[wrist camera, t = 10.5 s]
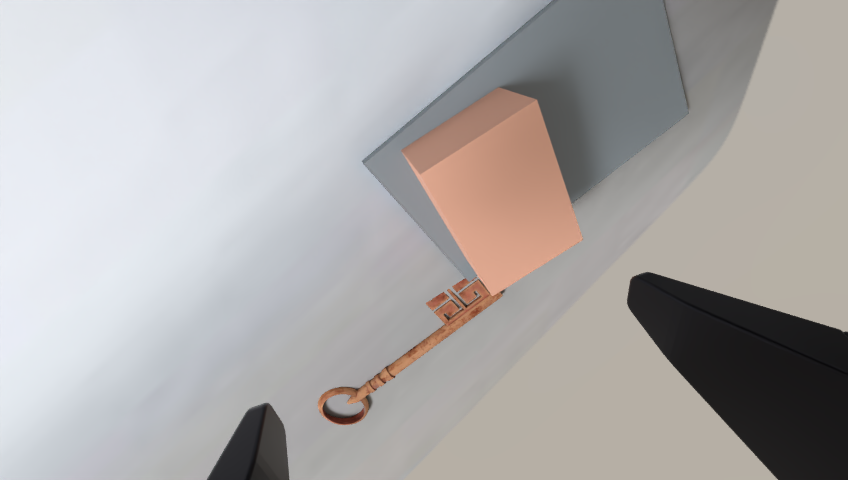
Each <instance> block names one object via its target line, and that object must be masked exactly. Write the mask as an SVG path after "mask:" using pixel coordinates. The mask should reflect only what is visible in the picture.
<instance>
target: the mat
mask: <svg viewBox="0 0 848 480" xmlns="http://www.w3.org/2000/svg"><path fill="white" fill-rule="evenodd" d="M498 87H499V88H502V89H506V90H509V91H512V92H515V93H518V94H521V95H524V96H527V97H531V98H534V99H537V101H538V104H539V107H540V110H541V113H542V116H543V120H544V123H545V126H546V129H547V132H548V135H549V138H550V141H551V144H552V147H553V150H554V153H555V156H556V159H557V162H558V165H559V168H560V171H561V174H562V177H563V180H564V183H565V186H566V189H567V192H568V195H569V198H570V201H571V204H572V203H573V202H574V201H575V200H577V199H578V198H579V197H581V196H582V195H583V194H585V193H586V192H587V191H588V190H590V189H591V188H592V187H594V186H595V185H596V184H598V183H599V182H600V181H601V180H603V179H604V178H605V177H607V176H608V175H609V174H611V173H612V172H613V171H614V170H616V169H617V168H618V167H620V166H621V165H622V164H624V163H625V162H626V161H627V160H629V159H630V158H631V157H633V156H634V155H635V154H637V153H638V152H639V151H641V150H642V149H643V148H644V147H646V146H647V145H648V144H650V143H651V142H652V141H654V140H655V139H656V138H657V137H659V136H660V135H661V134H663V133H664V132H665V131H667V130H668V129H669V128H670V127H672V126H673V125H674V124H676V123H677V122H678V121H680V120H681V119H682V118H683V117H685V116H686V115H687V114H689V112H688V108H687V103H686V99H685V94H684V90H683V86H682V81H681V77H680V72H679V68H678V64H677V59H676V55H675V50H674V46H673V42H672V37H671V33H670V28H669V24H668V20H667V15H666V11H665V6H664V2H663V0H553V1H552V2H551V3H550V4H548V5H547V6H546V7H545V8H544V9H542V10H541V11H540V12H539V13H538V14H536V15H535V16H534V17H533V18H532V19H531V20H529V21H528V22H527V23H526V24H525V25H523V26H522V27H521V28H520V29H519V30H517V31H516V32H515V33H514V34H513V35H512V36H510V37H509V38H508V39H507V40H506V41H504V42H503V43H502V44H501V45H500V46H498V47H497V48H496V49H495V50H494V51H493V52H491V53H490V54H489V55H488V56H487V57H485V58H484V59H483V60H482V61H481V62H479V63H478V64H477V65H476V66H475V67H474V68H472V69H471V70H470V71H469V72H468V73H466V74H465V75H464V76H463V77H462V78H460V79H459V80H458V81H457V82H456V83H454V84H453V85H452V86H451V87H450V88H449V89H447V90H446V91H445V92H444V93H443V94H441V95H440V96H439V97H438V98H437V99H435V100H434V101H433V102H432V103H431V104H430V105H428V106H427V107H426V108H425V109H424V110H422V111H421V112H420V113H419V114H418V115H416V116H415V117H414V118H413V119H412V120H411V121H409V122H408V123H407V124H406V125H405V126H403V127H402V128H401V129H400V130H399V131H397V132H396V133H395V134H394V135H393V136H392V137H390V138H389V139H388V140H387V141H386V142H384V143H383V144H382V145H381V146H380V147H378V148H377V149H376V150H375V151H374V152H372V153H371V154H370V155H369V156H368V157H367V158H365V159H364V160H363V164H364V165H365V166H366V167H367V168H368V170H369V171H370V172H371V173H372V174H373V175H374V176H375V177H376V179H377V180H378V181H379V182H380V183H381V184H382V185H383V186H384V187H385V189H386V190H387V191H388V192H389V193H390V194H391V195H392V196H393V198H394V199H395V200H396V201H397V202H398V203H399V204H400V205H401V207H402V208H403V209H404V210H405V211H406V212H407V213H408V214H409V215H410V217H411V218H412V219H413V220H414V221H415V222H416V223H417V224H418V226H419V227H420V228H421V229H422V230H423V231H424V232H425V233H426V235H427V236H428V237H429V238H430V239H431V240H432V241H433V242H434V243H435V245H436V246H437V247H438V248H439V249H440V250H441V251H442V252H443V254H444V255H445V256H446V257H447V258H448V259H449V260H450V261H451V262H452V264H453V265H454V266H455V267H456V268H457V269H458V270H459V271H460V273H461V274H462V275H463V276H464V277H465V278H466V279H467V280H468V282H470V281H471V280H473V279H474V278H475V277H476V276H478V275H477V274H476V272H475V271H474V270H473V268H472V267H471V265H470V264H469V262H468V261H467V259H466V258H465V256H464V254H463V253H462V251H461V249H460V248H459V246H458V244H457V243H456V241H455V239H454V238H453V236H452V234H451V233H450V231H449V229H448V228H447V226H446V224H445V223H444V221H443V219H442V218H441V216H440V215H439V213H438V211H437V210H436V208H435V206H434V205H433V203H432V201H431V200H430V198H429V196H428V195H427V193H426V191H425V190H424V188H423V186H422V185H421V183H420V181H419V180H418V178H417V176H416V175H415V173H414V171H413V170H412V168H411V166H410V165H409V163H408V161H407V160H406V158H405V156H404V155H403V153H402V151H401V150H402V149H404V148H405V147H407V146H408V145H410V144H411V143H413V142H414V141H416V140H417V139H419V138H421V137H422V136H424V135H425V134H427V133H428V132H430V131H431V130H433V129H434V128H436V127H438V126H439V125H441V124H442V123H444V122H445V121H447V120H448V119H450V118H451V117H453V116H455V115H456V114H458V113H459V112H461V111H462V110H464V109H465V108H467V107H468V106H470V105H472V104H473V103H475V102H476V101H478V100H479V99H481V98H482V97H484V96H486V95H487V94H489V93H490V92H492V91H493V90H495V89H496V88H498Z"/></svg>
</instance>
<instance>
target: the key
mask: <svg viewBox="0 0 848 480" xmlns="http://www.w3.org/2000/svg"><path fill="white" fill-rule="evenodd" d="M475 278H477V277H475ZM475 278H474V279H475ZM474 279H473V280H474ZM473 280H471V281H473ZM471 281H470V282H471ZM470 282H468V280H467V279H466V278H465V279H463V280H462V281H460V282H459V283H457V284H456V285H454V286H452V287H453V288H454V289H455V291H456V292H458V291H459V290H461V289H462V288H463V287H465V286H466V285H467V284H469V283H470ZM447 291H448V292H449V293H450V294H451V295H452V297H453V298H454V299H455V300H456V301H457V302H458V303H459V305H460V306H461V307H462V308H463V309H461V310H460V311H459V312H457V311H458V310H459V308H458V307H457V306H456V305H455V304H454V303H453V302H452V301H451V300H450V301H448V302H447V303H446V304H444V305H443V306H442V307H440V308H439V309H438V310H436V311H435V312H434V313H435V314H436V315H437V316H438V317H439V318H440V319H441V320H442V321H443V322H444V323H445V325H444V326H442V327H441V328H440V329H438V330H437V331H436V332H434V333H433V334H431V335H430V336H429V337H427V338H426V339H425V340H423V341H422V342H421V343H419V344H418V345H417V346H415V347H414V348H413V349H411V350H410V351H408V352H407V353H406V354H404V355H403V356H402V357H400V358H399V359H398V360H396V361H395V362H394V363H392V364H391V365H389V366H388V367H387V368H386V367H385V368H384V369H383V370H382V372H381V373H380V374H377V375H376V376H374V378H373V379H372V380H370V381H368V382H366V384H365V385H364V386H362V387H361V388H359V389H358V390H356V389H353V388H348V387H339V388H334V389H331V390H329V391H327V392H325V393H324V394H323V395H322V396H321V397H320V399H319V401H318V408H319V411H320V413H321V414H322V416H323V417H324V418H325V419H327V420H328V421H330V422H332V423H335V424H339V425H350V424H355V423H357V422H359V421H361V420H362V419H363V418H364V417H365V416H366V414H367V412H368V410H369V403H368V401H367V399H366V396H367V395H368V394H370V393H373V392H374V391H376V390H377V388H378V387H379V386H382V385H384V384H385V383H386V381H390V380H391V379H393V378H395V375H397V374H398V373H399V372H401V371H402V370H403V369H405V368H406V367H407V366H409V365H410V364H411V363H413V362H414V361H416V360H417V359H418V358H420V357H421V356H422V355H424V354H425V353H426V352H428V351H429V350H430V349H432V348H433V347H434V346H436V345H437V344H438V343H440V342H441V341H443V340H444V339H445V338H447V337H448V336H449V335H451V334H452V333H453V332H455V331H456V330H457V329H459V328H460V327H461V326H463V325H464V324H465V323H467V322H468V321H470V320H471V319H472V318H474V317H475V316H476V315H478V314H479V313H480V312H482V311H483V310H484V309H486V308H487V307H488V306H490V305H491V304H492V303H494V302H495V301H497V300H498V299H499V298H501V297H502V296H503V295H502V294H501V293H500V292H499V293H497V294H495V295H494V296H492V295H491V294H490V293H489V292H488V291H487V290H486V289H485V287H484V286H483V285H482V284H481V282H480V281H479V280H477V281H475V282H474V283H473V284H471V285H470V286H469V287H467V288H466V289H464V290H463V291H462V292H460V293H459V295H460V296H461V297H462V299H463V300H464V301H465V302H466V303H467V304H468V303H469V302H471V301H472V300H473V299H475V298H476V297H477V296H476V295H475V294H474V291H477V292H478V293H479V294H480V295H481V296H479V297H478V298H477V299H475V300H474V301H473V302H471V303H470V304H468V305H467V306H466V307H465V306H464V305H463V303H462V302H461V301H460V300H459V299H458V298H457V297H456V296H455V295H454V294H453V292H452V291H451V290H450V289H448V290H447ZM447 299H449V297H448V296H447V295H446V294H445V293H444V292H443V293H441V294H440V295H438V296H436V297H435V298H433V299H432V300H431V301H428V302H427V303H426V304H427V305H428V307H429V308H430V309H431V310H432V311H433V310H434V309H435V308H437V307H438V306H439V305H441V304H442V303H443V302H445V301H446V300H447ZM456 312H457V313H456ZM445 313H446V314H447V315H448V316H449V317H450V316H452V315H453V314H454V313H456V314H455V315H453V316H452V317H450V318H449V319H447V318H446V317H445V316H444V314H445ZM338 394H347V395H352V396H351V397H350V399H349V400H348V402H347V403H348V404H352V403H356V402H359V401H361V402H362V403H363V404H364V408H363V410H362V411H361V412H360V413H358V414H357V415H355V416H352V417H349V418H337V417H333V416H330V415H328V414H327V413H326V412H325V411H324V410H323V408H322V407H323V404H324V402H325V401H326V400H327V399H328V398H330V397H332V396H334V395H338Z"/></svg>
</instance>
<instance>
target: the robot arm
mask: <svg viewBox="0 0 848 480" xmlns="http://www.w3.org/2000/svg"><path fill="white" fill-rule="evenodd" d="M627 304H628V307H629V309H630V310H631V312H632V313H633V314H634V316H635V317H636V318H637V320H638V321H639V322H640V324H641V325H642V326H643V328H644V329H645V330H646V332H647V333H648V334H649V336H650V337H651V338H652V339H653V341H654V342H655V344H656V345H657V346H658V347H659V349H660V350H661V351H662V353H663V354H664V355H665V356H666V358H667V359H668V360H669V361H670V362H671V364H672V365H673V366H674V367H675V368H676V369H677V370H678V371H679V373H680V374H681V375H682V376H683V377H684V378H685V379H686V380H687V381H688V382H689V383H690V385H691V386H692V387H693V388H694V389H695V390H696V391H697V392H698V393H699V394H700V395H701V396H702V397H703V399H704V400H705V401H706V402H707V403H708V404H709V405H710V406H711V407H712V408H713V409H714V411H715V412H716V413H717V414H718V415H719V416H720V417H721V418H722V419H723V420H724V422H725V423H726V424H727V425H728V426H729V427H730V428H731V429H732V430H733V431H734V432H735V433H736V435H737V436H738V437H739V438H740V439H741V440H742V441H743V442H744V443H745V444H746V445H747V447H748V448H749V449H750V450H751V451H752V452H753V453H754V454H755V455H756V456H757V457H758V459H759V460H760V461H761V462H762V463H763V464H764V465H765V466H766V467H767V468H768V469H769V470H770V471H771V473H772V474H773V475H774V476H775V477H776V478H777V479H778V480H848V332H842V331H841V330H839V329H836V328H833V327H829V326H826V325H823V324H819V323H816V322H813V321H809V320H806V319H803V318H799V317H796V316H793V315H790V314H786V313H783V312H780V311H776V310H773V309H770V308H766V307H763V306H760V305H756V304H753V303H750V302H747V301H743V300H740V299H736V298H733V297H730V296H727V295H723V294H720V293H717V292H714V291H710V290H707V289H704V288H700V287H697V286H694V285H690V284H687V283H684V282H680V281H677V280H674V279H670V278H667V277H664V276H661V275H657V274H654V273H650V272H646V273H642V274H639V275H636V276H634V277H632V279H631V280H630V286H629V292H628V298H627ZM207 480H289V469H288V457H287V446H286V434H285V429H284V425H283V423H282V421H281V420H280V418H279V417H278V415H277V414H276V412H275V411H274V409H273V408H272V406H271V405H270V404H269V403H264V404H261V405H258V406H255V407H252V408H250V409H249V410H248V411H247V412H246V413H245V415H244V417H243V419H242V420H241V422H240V424H239V425H238V427H237V429H236V430H235V432H234V434H233V436H232V437H231V439H230V441H229V442H228V444H227V446H226V448H225V449H224V451H223V453H222V454H221V456H220V458H219V460H218V461H217V463H216V465H215V466H214V468H213V470H212V472H211V473H210V475H209V477H208V478H207Z"/></svg>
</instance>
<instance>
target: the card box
mask: <svg viewBox="0 0 848 480" xmlns="http://www.w3.org/2000/svg"><path fill="white" fill-rule="evenodd" d="M401 151H402V153H403V155H404V156H405V158H406V160H407V161H408V163H409V165H410V166H411V168H412V170H413V171H414V173H415V175H416V176H417V178H418V180H419V181H420V183H421V185H422V186H423V188H424V190H425V191H426V193H427V195H428V196H429V198H430V200H431V201H432V203H433V205H434V206H435V208H436V210H437V211H438V213H439V215H440V216H441V218H442V219H443V221H444V223H445V224H446V226H447V228H448V229H449V231H450V233H451V234H452V236H453V238H454V239H455V241H456V243H457V244H458V246H459V248H460V249H461V251H462V253H463V254H464V256H465V258H466V259H467V261H468V262H469V264H470V265H471V267H472V268H473V270H474V271H475V272H476V274H477V275H478V277H479V278H480V280H481V281H482V282H483V284H484V285H485V287H486V288H487V290H488V291H489V293H490V294H491V295H492V296H494V295H495V294H497V293H499V292H500V291H502V290H503V289H505V288H507V287H508V286H510V285H511V284H513V283H515V282H516V281H518V280H519V279H521V278H523V277H524V276H526V275H527V274H529V273H531V272H532V271H534V270H535V269H537V268H539V267H540V266H542V265H543V264H545V263H547V262H548V261H550V260H551V259H553V258H555V257H556V256H558V255H559V254H561V253H563V252H564V251H566V250H567V249H569V248H571V247H572V246H574V245H575V244H577V243H579V242H580V241H582V240H583V238H582V235H581V232H580V229H579V226H578V223H577V220H576V217H575V213H574V210H573V207H572V204H571V201H570V198H569V195H568V192H567V189H566V186H565V183H564V180H563V177H562V174H561V171H560V168H559V165H558V162H557V159H556V156H555V153H554V150H553V147H552V144H551V141H550V138H549V135H548V132H547V129H546V126H545V123H544V120H543V116H542V113H541V110H540V107H539V104H538V101H537V99H534V98H531V97H527V96H524V95H521V94H518V93H515V92H512V91H509V90H506V89H502V88H499V87H498V88H496V89H495V90H493V91H492V92H490V93H489V94H487V95H486V96H484V97H482V98H481V99H479V100H478V101H476V102H475V103H473V104H472V105H470V106H468V107H467V108H465V109H464V110H462V111H461V112H459V113H458V114H456V115H455V116H453V117H451V118H450V119H448V120H447V121H445V122H444V123H442V124H441V125H439V126H438V127H436V128H434V129H433V130H431V131H430V132H428V133H427V134H425V135H424V136H422V137H421V138H419V139H417V140H416V141H414V142H413V143H411V144H410V145H408V146H407V147H405V148H404V149H402V150H401Z"/></svg>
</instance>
